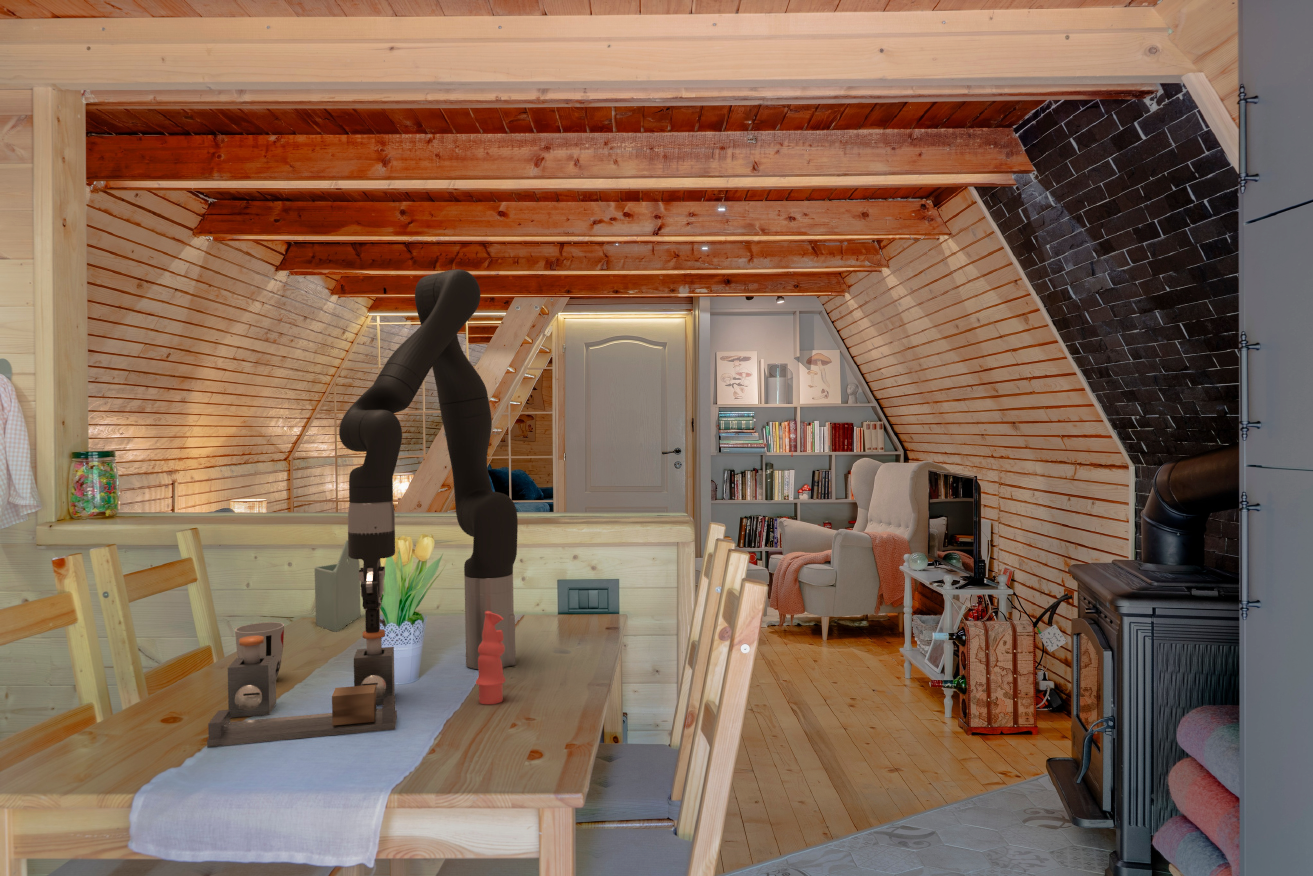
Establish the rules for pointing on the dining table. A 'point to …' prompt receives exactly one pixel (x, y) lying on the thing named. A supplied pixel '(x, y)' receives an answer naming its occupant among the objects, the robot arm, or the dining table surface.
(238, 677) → the cabinet
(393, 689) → the cabinet
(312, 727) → the rail
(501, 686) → the figurine
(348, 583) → the planter
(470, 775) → the dining table surface
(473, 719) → the dining table surface
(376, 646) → the plunger
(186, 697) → the dining table surface
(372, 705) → the carriage
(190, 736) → the dining table surface
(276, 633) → the cup
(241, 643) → the plunger
